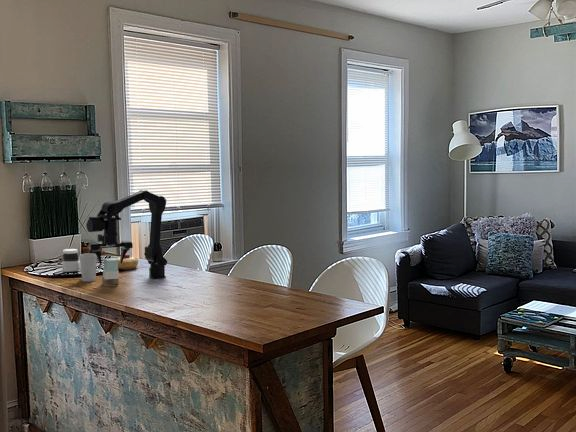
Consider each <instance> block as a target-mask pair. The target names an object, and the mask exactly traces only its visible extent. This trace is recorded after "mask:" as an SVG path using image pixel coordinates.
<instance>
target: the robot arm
mask: <svg viewBox="0 0 576 432" xmlns="http://www.w3.org/2000/svg"><path fill="white" fill-rule="evenodd" d="M142 201H145V202H146V203H147V204H148V209H149V211H150V213H151V217H150V218H151V219H150V232H149V244H148V246H145V247H144V254H143V256H145V259H146V261H147V263H148V264H149V265H150V267H148V269H149V270H148V272H149V274H148V275H149V277H150V278H151V279H153V278H155V279H163V278H162V277H165V278H166V276H167V275H165V273H166V272H165V271H166V269H165V267H166V266H167V264H168V260H167V259H166V258H165V257H164V255H163V249H162V246H161V232H162V231H161V230H162V218H163V217H162V216H163V213H164V212H165V209H166V206H167V198H165V197H164V196H162V195H157V194H155V193H153V192H150V191H148V190H145V189H141V190H140V189H139V190H138V191H137V192H134V193H132V194H129V195H128V196H125V197H123V198H121V199H117V200H111V201H110V200H109V201H107V202H103V203H102V204H101V205H102V206H101V209H100V210H99V212H98V214H96V216H89V217H88V220H87V221H86V225H85V226H86V230H87V232H89V233H96V232H103V234H97V236H96V237H97V239H96V240H97V242H89V243H88V248H87V249H88V250H89V251H91V252H92V253H94V254H96V256H97V261H98V263H99V266H102V252H101V249H107V248H109V249H111V248H120V256H119V257H120V263H121V264H122V262H123V259H124V257H125V255H126V254H128V252H127V251H130V250H131V249H133V248H134V245H133V244H134V243H133V242H132V241H130V240H121V242H118V221H121V220H122V218H121V217H120V216H119V214H120V213H122V212H123V210H124V209H126V208H128V207H130V206H132V205H134V204H136V203H139V202H142ZM99 242H101V243H99Z"/></svg>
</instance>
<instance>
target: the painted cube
mask: <svg viewBox="0 0 576 432" xmlns="http://www.w3.org/2000/svg"><path fill="white" fill-rule="evenodd" d="M116 258H117V257H110V258H109V257H108V258H103V269H104V270H105V271H107V272H109V271H119V269H118V260H117V259H116Z"/></svg>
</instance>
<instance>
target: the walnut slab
mask: <svg viewBox="0 0 576 432" xmlns="http://www.w3.org/2000/svg"><path fill="white" fill-rule="evenodd" d="M101 278H102V279H101V281H102V283H101V284H102V285H103V286H104V287H105V286H109V287H114V286H113V285H120V284H119V283H120V281H119V279H104V277H103V276H102V277H101Z"/></svg>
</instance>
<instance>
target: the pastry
mask: <svg viewBox="0 0 576 432" xmlns="http://www.w3.org/2000/svg"><path fill="white" fill-rule="evenodd" d="M128 252H129V253H130V250H128V251H127V253H126V255H125V257H124V259H123V262H122V264H121V263H120V256H119V257H118V256H117V257H115V258H116V259H117V260H118V270H125V271H128V270H130V271H131V270H135V269H136V268H137V267H138V265H139V259H138V258H137V257H133V256H130V254H128Z"/></svg>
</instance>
